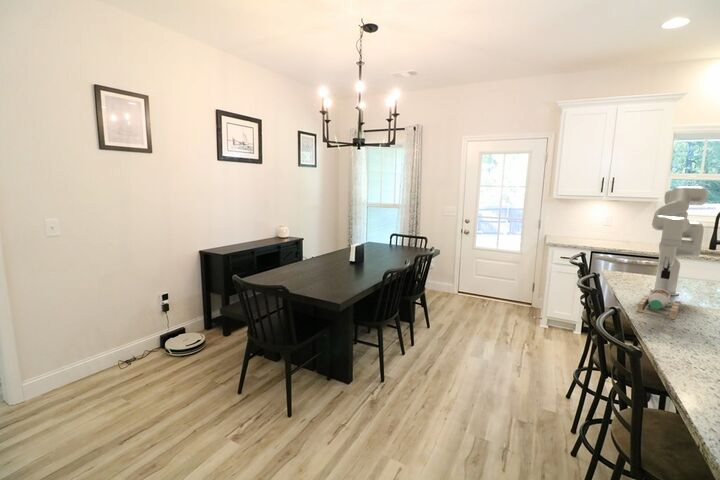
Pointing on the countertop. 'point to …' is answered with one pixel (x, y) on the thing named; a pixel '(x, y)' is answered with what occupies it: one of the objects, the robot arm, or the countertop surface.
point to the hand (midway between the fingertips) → (664, 278)
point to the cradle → (664, 312)
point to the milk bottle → (659, 299)
